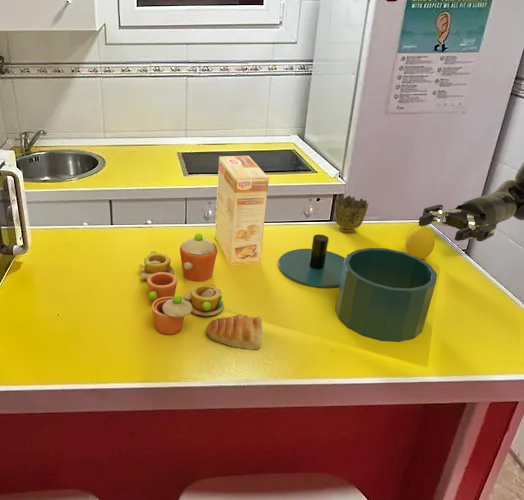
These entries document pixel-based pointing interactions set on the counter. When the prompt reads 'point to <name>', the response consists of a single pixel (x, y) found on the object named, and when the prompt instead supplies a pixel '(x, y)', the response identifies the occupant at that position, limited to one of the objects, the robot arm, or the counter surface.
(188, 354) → the counter surface
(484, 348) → the counter surface
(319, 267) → the lid
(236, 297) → the counter surface
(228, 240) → the coffeecake box
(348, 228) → the cup
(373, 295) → the pot
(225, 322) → the pastry
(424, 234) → the lemon
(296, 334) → the counter surface
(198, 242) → the toy tea set
